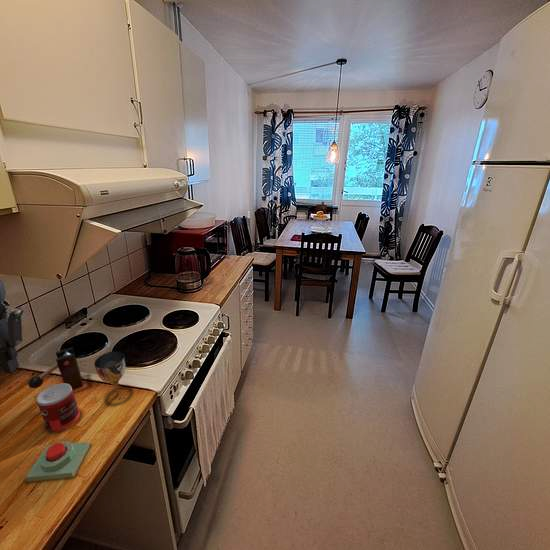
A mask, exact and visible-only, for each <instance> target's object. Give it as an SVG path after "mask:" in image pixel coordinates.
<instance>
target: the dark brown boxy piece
mask: <svg viewBox="0 0 550 550" xmlns="http://www.w3.org/2000/svg"><path fill="white" fill-rule="evenodd" d="M65 352H69V353H70V355H67V356H63V357H60V356H62V355H63V354H64V353H65ZM55 355H56V358H55V361H56V363H57V364H58V370H59V374H60V376H61V379H62V383H66V384H69V385H70V386H71V387H72V390H73V391H74V390H76V389H79V388H82V387H83V386H84V383H83V381H82V380H83V378H82V374H81V371H80V366H79V364H78V361H77V358H76V354H75V351H74V348H73V347H68V348H65V349H61V350H58V351H55ZM59 357H60V358H59Z"/></svg>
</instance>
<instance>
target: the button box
mask: <svg viewBox="0 0 550 550" xmlns="http://www.w3.org/2000/svg"><path fill="white" fill-rule="evenodd" d="M58 443H63V444H64V446H65V449H66V452H65V454H64V456H63V457H61V458H60V459H59V460H56V461H53V462H50V461H48V459H47V456H46V452H47V450H48V449H49V448H50V447H51V446H52V445H53V444H50V445H48V444H47V445H46V446H45V447H44V449H43V451H42V452H41V454H40V455H38V458H37V460H35V462H34V464H33V465H32V467H31V468H30V470H29V472H27V474H26V476H25V480H26V482H27V483H29V482H30V483H32V482H40V481H41V482H42V481H50V480H60V479H69V478H70V479H71V478H74V477H75V475H76V473H77V472H78V469H79V467H80V465H81V463H82V462H83V460H84V457H85V456H86V454H87V452H88V450H89V448H90V443H89V441H83V442H70V441H69V440H66V441H59V442H58Z"/></svg>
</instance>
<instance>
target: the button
mask: <svg viewBox="0 0 550 550" xmlns="http://www.w3.org/2000/svg"><path fill="white" fill-rule="evenodd" d="M51 445H52V446H51V447H50V448H49V449H48V450H47V452H46V456H47V459H48V461H50V462H53V461H56V460H59V459H60V458H61V457H63V456H64V454H65V452H66V449H65V446H64V444H63V443H59V442H56V443H54V444H51Z"/></svg>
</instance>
